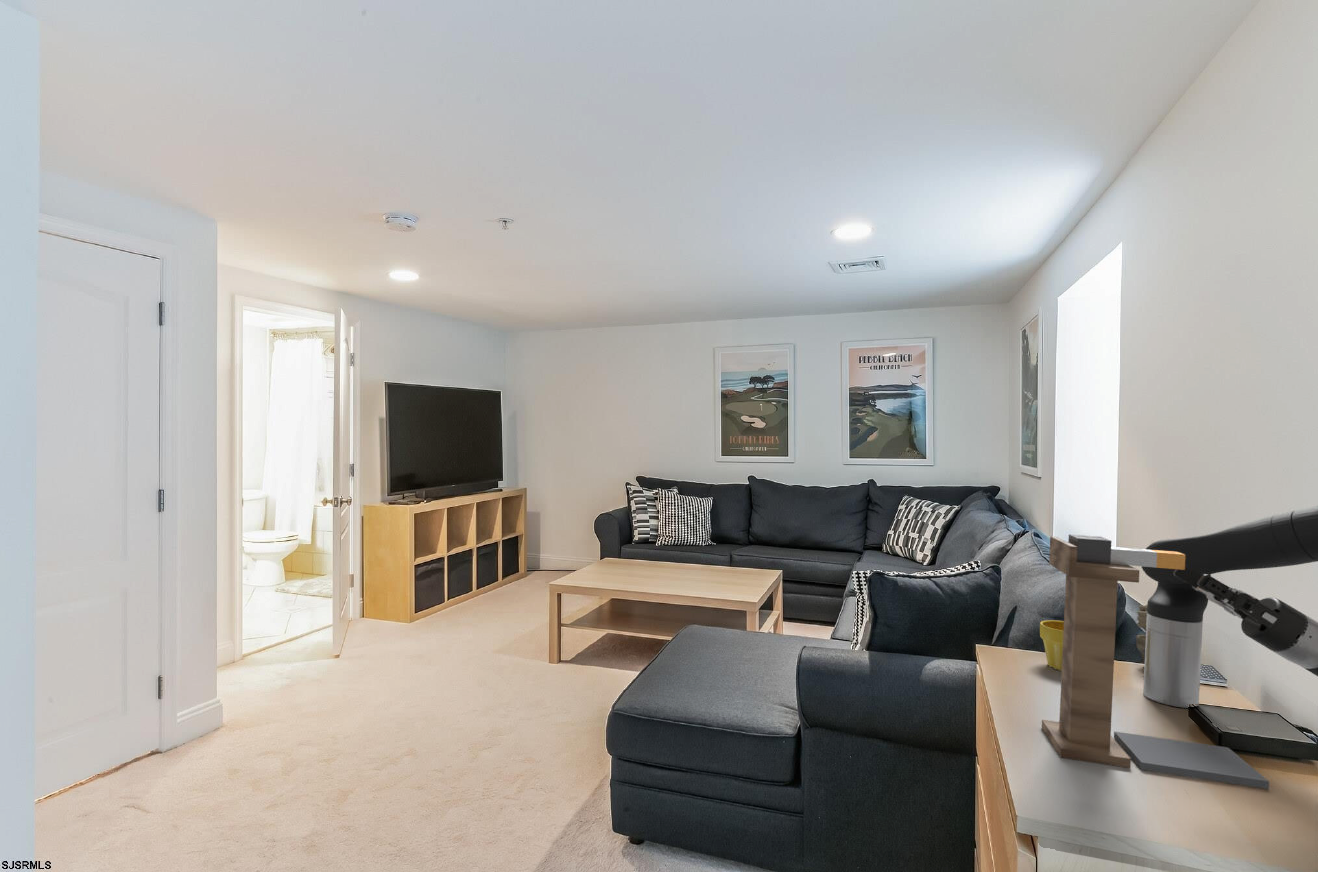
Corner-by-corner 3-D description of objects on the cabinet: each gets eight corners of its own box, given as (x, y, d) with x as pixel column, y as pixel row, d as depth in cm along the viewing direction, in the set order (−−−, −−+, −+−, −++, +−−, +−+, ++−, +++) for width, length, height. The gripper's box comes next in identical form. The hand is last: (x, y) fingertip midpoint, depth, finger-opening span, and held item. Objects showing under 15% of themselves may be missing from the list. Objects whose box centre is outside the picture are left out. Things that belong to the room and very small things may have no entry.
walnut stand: (1041, 727, 124) (1050, 536, 124) (1104, 736, 121) (1113, 540, 121) (1060, 757, 113) (1070, 546, 112) (1130, 768, 110) (1140, 551, 110)
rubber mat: (1113, 738, 121) (1114, 731, 121) (1227, 754, 116) (1228, 747, 116) (1141, 769, 110) (1141, 762, 110) (1268, 789, 105) (1269, 781, 105)
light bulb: (1168, 673, 158) (1171, 608, 158) (1141, 670, 159) (1144, 606, 159) (1155, 665, 163) (1158, 602, 163) (1130, 663, 164) (1132, 600, 164)
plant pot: (1031, 665, 159) (1033, 624, 159) (1046, 657, 166) (1048, 617, 166) (1081, 679, 151) (1083, 635, 151) (1095, 669, 159) (1097, 627, 158)
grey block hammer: (1067, 557, 120) (1068, 534, 120) (1173, 565, 116) (1174, 542, 116) (1076, 561, 115) (1077, 538, 115) (1187, 571, 111) (1188, 546, 111)
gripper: (1277, 603, 115) (1182, 548, 119) (1334, 626, 102) (1225, 563, 106) (1248, 639, 117) (1155, 583, 120) (1301, 666, 103) (1194, 602, 107)
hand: (1188, 573), depth 113 cm, fingers open, 8 cm apart
